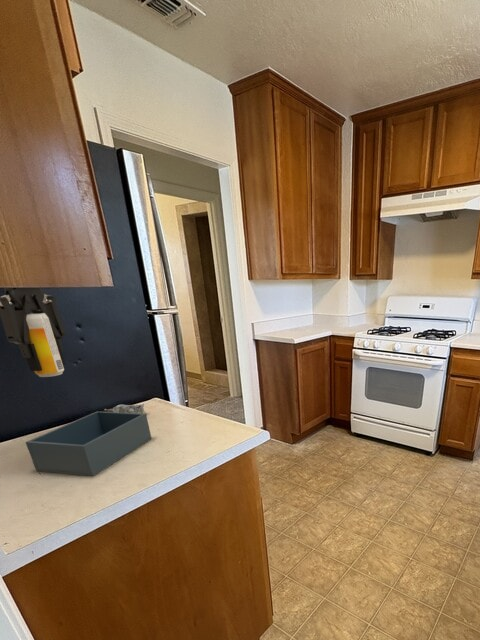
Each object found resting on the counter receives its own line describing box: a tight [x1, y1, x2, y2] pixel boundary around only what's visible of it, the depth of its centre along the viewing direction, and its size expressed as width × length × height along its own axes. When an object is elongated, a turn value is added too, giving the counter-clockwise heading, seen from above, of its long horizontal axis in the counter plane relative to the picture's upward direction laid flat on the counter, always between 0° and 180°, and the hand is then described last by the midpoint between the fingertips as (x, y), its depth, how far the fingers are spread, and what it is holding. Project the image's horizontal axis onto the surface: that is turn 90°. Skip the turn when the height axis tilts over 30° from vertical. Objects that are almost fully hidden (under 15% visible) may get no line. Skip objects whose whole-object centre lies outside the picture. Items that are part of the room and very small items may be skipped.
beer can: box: [26, 312, 65, 378], centre depth 88 cm, size 6×6×15 cm
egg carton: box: [103, 403, 146, 414], centre depth 117 cm, size 11×8×4 cm
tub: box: [25, 410, 153, 477], centre depth 91 cm, size 16×22×8 cm
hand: (48, 367), depth 90 cm, fingers closed on beer can, 6 cm apart
